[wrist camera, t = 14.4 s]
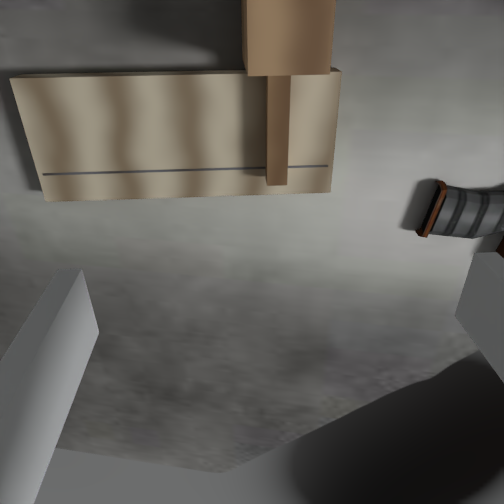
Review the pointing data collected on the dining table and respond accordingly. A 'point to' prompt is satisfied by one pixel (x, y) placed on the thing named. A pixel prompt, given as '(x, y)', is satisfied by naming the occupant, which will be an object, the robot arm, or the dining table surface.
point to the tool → (464, 214)
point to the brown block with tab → (284, 62)
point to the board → (172, 133)
